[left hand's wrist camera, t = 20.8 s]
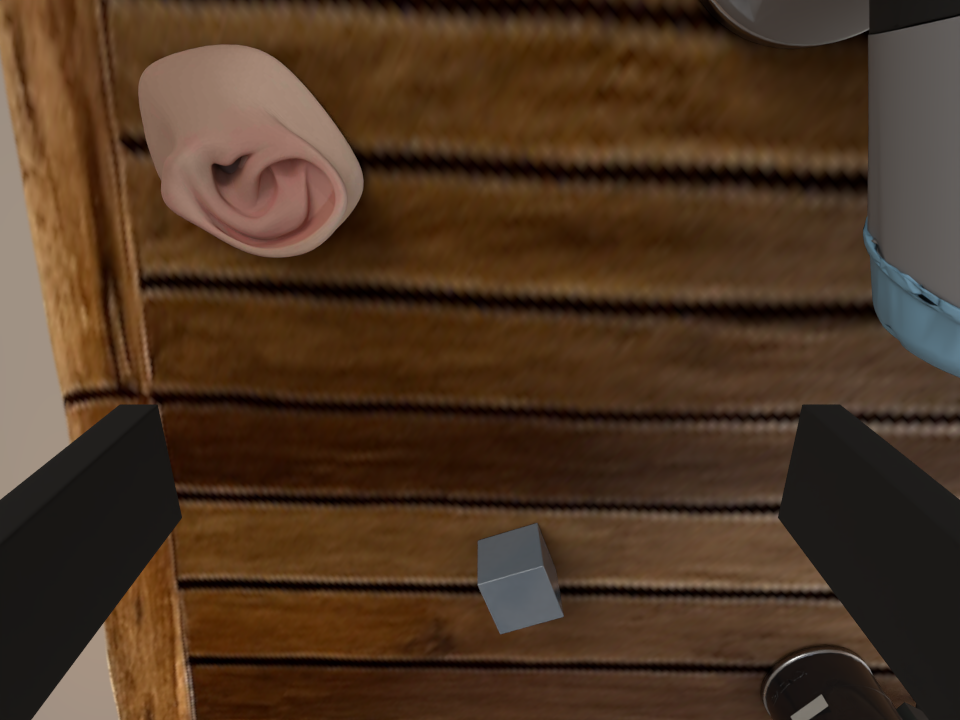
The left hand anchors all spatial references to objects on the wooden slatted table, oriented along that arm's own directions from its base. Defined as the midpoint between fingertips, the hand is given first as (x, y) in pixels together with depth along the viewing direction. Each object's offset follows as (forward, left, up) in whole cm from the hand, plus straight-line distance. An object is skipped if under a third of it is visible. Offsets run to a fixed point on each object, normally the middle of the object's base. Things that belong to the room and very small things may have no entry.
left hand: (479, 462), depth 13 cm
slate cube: (-3, +26, -29) cm, 39 cm away
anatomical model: (+14, -5, -29) cm, 32 cm away
